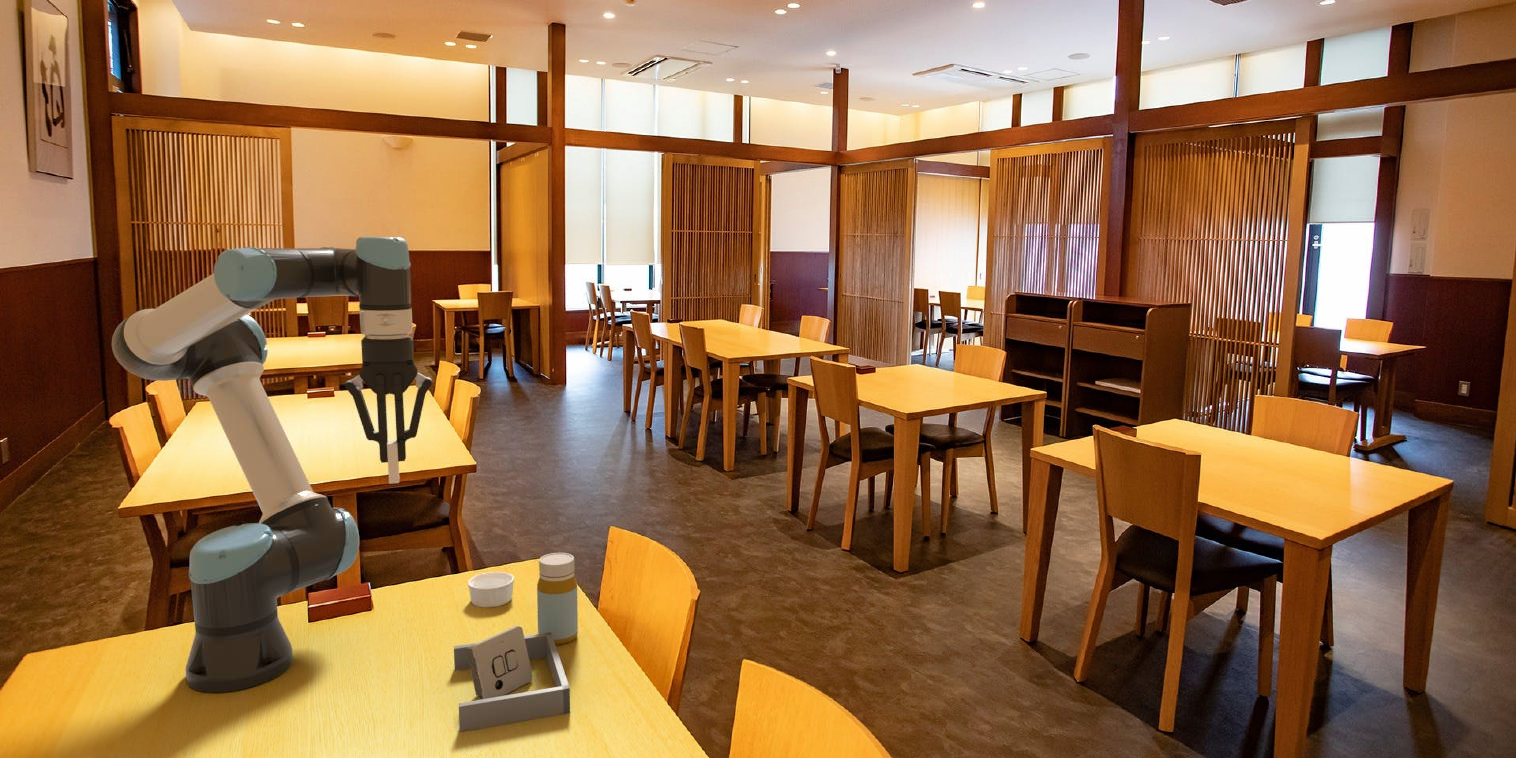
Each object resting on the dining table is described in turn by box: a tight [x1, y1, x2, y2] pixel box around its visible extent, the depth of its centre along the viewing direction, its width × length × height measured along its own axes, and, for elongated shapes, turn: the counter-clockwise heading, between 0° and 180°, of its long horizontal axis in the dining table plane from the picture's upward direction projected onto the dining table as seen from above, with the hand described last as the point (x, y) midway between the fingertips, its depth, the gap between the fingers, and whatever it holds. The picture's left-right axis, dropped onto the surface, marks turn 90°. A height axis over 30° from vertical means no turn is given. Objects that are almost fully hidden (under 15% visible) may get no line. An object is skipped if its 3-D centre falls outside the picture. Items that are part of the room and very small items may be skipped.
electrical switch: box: [466, 625, 534, 699], centre depth 138 cm, size 9×5×9 cm, turn 146°
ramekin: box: [467, 571, 515, 608], centre depth 172 cm, size 9×9×4 cm
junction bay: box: [453, 632, 571, 733], centre depth 138 cm, size 20×16×4 cm
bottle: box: [536, 552, 579, 646], centre depth 155 cm, size 7×7×15 cm
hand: (394, 480), depth 139 cm, fingers closed
